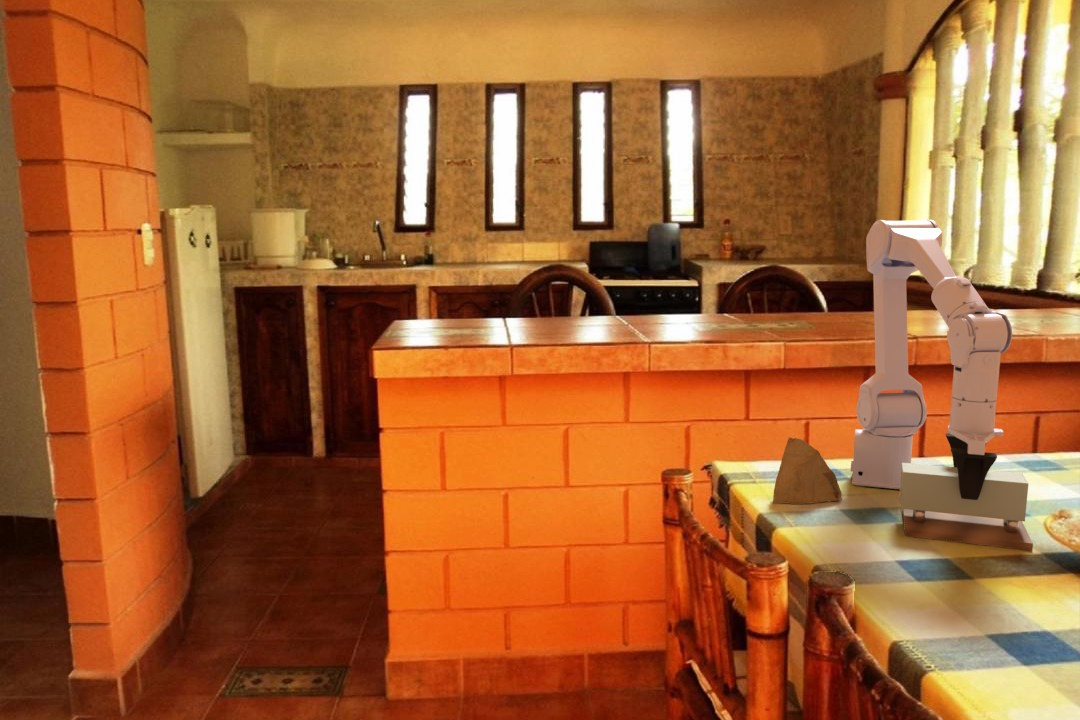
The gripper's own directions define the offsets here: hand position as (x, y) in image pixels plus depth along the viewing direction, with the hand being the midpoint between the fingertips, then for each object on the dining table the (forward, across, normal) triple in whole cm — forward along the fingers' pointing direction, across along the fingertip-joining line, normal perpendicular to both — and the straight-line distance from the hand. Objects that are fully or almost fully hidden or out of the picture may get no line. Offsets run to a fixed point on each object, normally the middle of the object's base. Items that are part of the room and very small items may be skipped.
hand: (966, 490), depth 125 cm
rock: (+6, +6, +22) cm, 24 cm away
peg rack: (+6, 0, 0) cm, 6 cm away
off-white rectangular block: (+3, 0, +1) cm, 3 cm away
